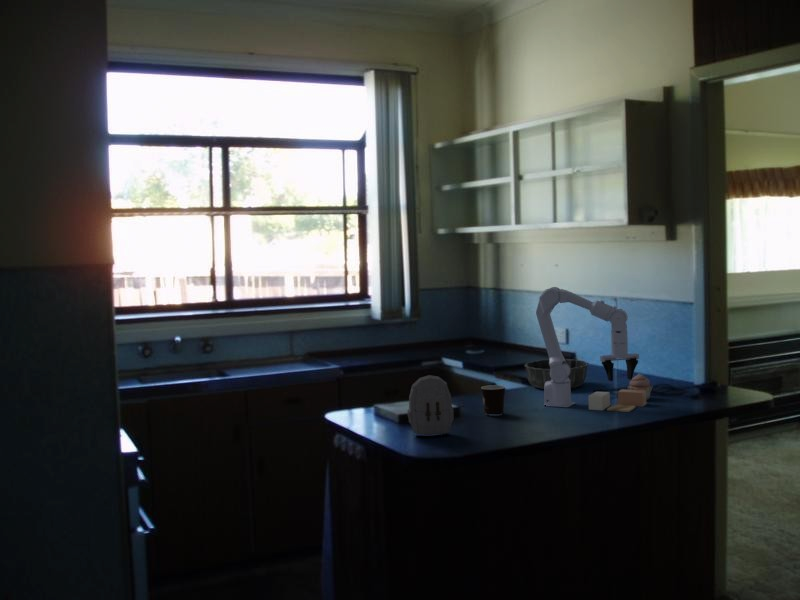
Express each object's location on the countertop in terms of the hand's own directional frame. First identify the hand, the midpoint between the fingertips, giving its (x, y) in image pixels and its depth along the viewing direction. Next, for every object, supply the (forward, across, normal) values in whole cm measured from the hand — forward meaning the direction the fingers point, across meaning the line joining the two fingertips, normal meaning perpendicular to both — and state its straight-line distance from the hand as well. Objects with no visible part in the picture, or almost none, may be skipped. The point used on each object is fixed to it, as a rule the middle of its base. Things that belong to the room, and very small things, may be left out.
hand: (620, 380), depth 290 cm
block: (+10, -8, +2) cm, 13 cm away
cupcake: (+10, +13, +10) cm, 19 cm away
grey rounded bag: (+10, -75, -16) cm, 78 cm away
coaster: (+10, -2, -4) cm, 11 cm away
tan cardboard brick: (+10, +6, +2) cm, 11 cm away
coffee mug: (+10, -45, +8) cm, 47 cm away
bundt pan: (+10, -4, +48) cm, 50 cm away
